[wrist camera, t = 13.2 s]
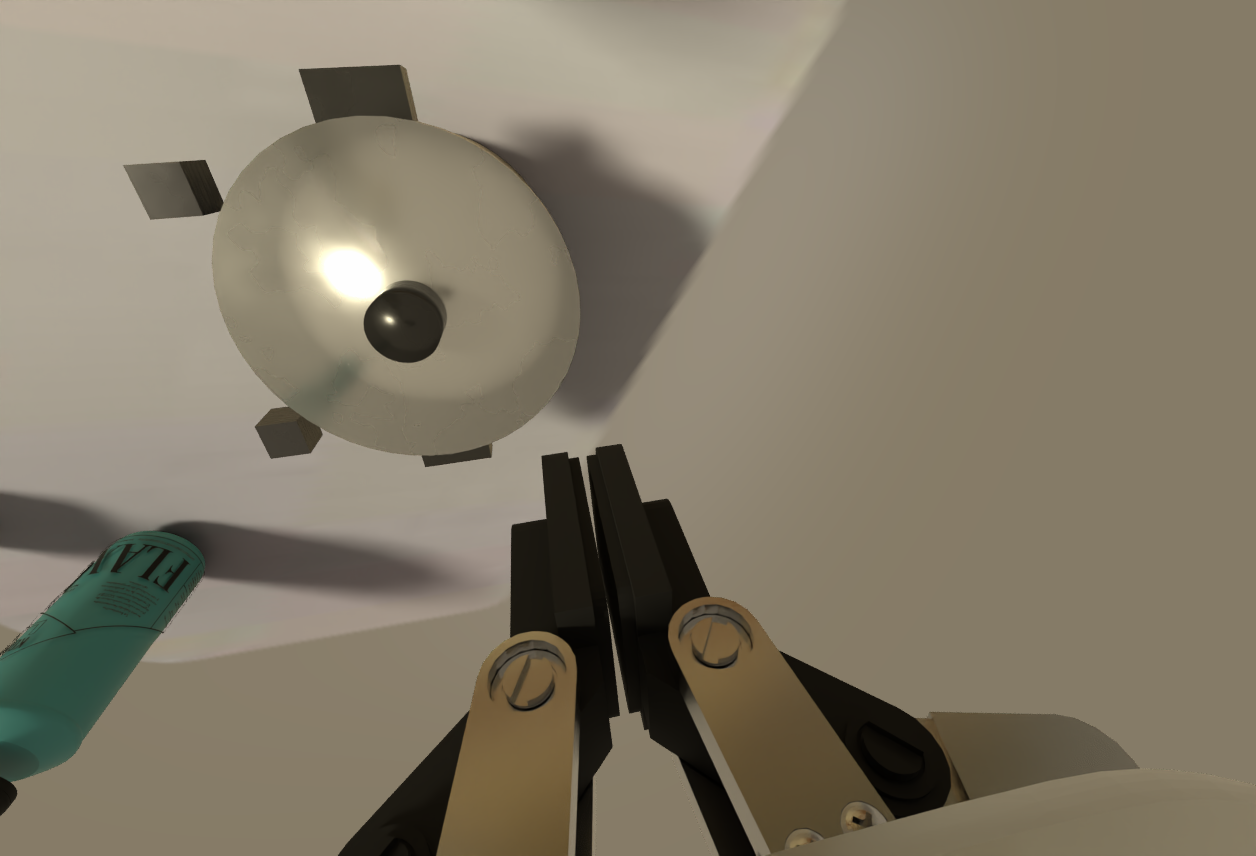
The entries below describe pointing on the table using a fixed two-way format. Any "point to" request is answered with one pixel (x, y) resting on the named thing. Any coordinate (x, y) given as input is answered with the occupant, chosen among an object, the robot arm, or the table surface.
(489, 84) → the table surface
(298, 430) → the cooker pot
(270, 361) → the cooker lid
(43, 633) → the beverage bottle
